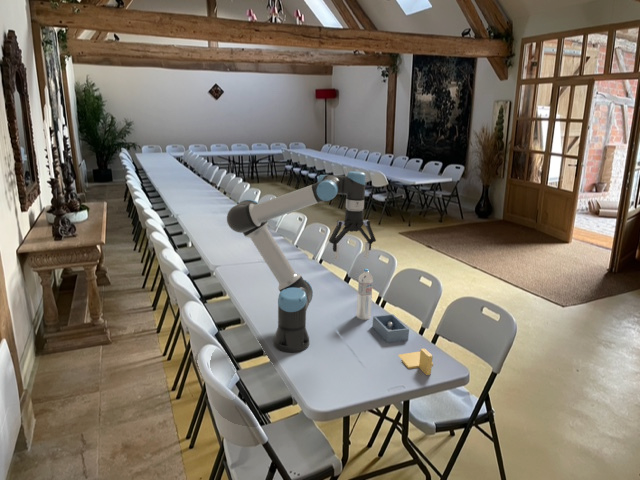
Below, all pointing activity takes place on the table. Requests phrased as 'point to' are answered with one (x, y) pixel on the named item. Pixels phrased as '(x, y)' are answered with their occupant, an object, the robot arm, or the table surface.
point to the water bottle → (364, 296)
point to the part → (390, 325)
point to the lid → (418, 360)
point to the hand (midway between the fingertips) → (351, 258)
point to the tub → (396, 334)
